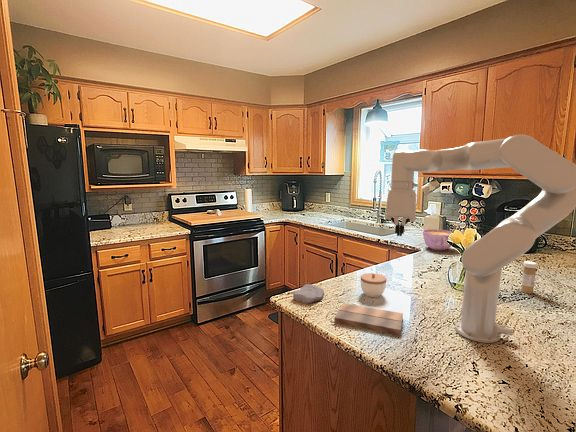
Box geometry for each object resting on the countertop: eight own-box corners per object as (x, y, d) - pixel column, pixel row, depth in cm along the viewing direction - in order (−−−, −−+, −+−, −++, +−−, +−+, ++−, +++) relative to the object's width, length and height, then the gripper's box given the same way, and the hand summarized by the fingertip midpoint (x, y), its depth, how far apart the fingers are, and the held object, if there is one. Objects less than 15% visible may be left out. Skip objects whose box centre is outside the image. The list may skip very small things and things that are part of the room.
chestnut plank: (402, 318, 112) (402, 313, 111) (401, 326, 106) (401, 321, 106) (342, 307, 120) (342, 303, 120) (338, 314, 115) (338, 309, 114)
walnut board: (401, 327, 106) (401, 321, 105) (400, 335, 100) (400, 330, 100) (338, 315, 114) (338, 310, 114) (334, 322, 109) (334, 317, 108)
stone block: (325, 300, 132) (306, 290, 138) (327, 290, 131) (308, 280, 136) (310, 311, 123) (290, 300, 128) (312, 300, 121) (292, 290, 127)
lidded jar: (387, 300, 127) (388, 278, 125) (360, 298, 129) (361, 277, 128) (384, 290, 137) (385, 270, 136) (359, 288, 139) (360, 268, 138)
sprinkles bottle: (527, 289, 138) (531, 260, 136) (536, 294, 133) (540, 263, 131) (517, 290, 138) (521, 260, 136) (525, 294, 133) (529, 264, 131)
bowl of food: (452, 254, 194) (454, 236, 192) (418, 250, 205) (419, 233, 203) (455, 247, 210) (457, 231, 209) (424, 244, 221) (425, 228, 219)
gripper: (424, 185, 112) (421, 235, 115) (381, 185, 118) (379, 232, 121) (424, 187, 106) (421, 239, 108) (379, 186, 111) (377, 235, 114)
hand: (399, 235), depth 115 cm, fingers closed
